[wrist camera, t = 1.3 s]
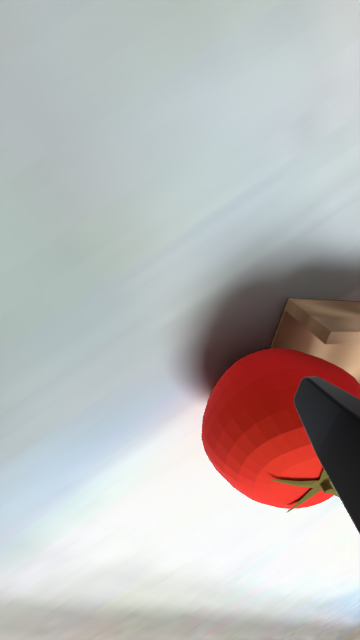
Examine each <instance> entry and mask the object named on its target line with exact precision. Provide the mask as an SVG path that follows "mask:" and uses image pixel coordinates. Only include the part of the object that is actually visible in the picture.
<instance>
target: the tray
mask: <svg viewBox="0 0 360 640" xmlns="http://www.w3.org/2000/svg"><path fill="white" fill-rule="evenodd" d="M272 348H283V349H292V350H297V351H301V352H304V353H307V354H310V355H313V356H316V357H319V358H322V359H324V360H326V361H328V362H330V363H332V364H335V365H336V366H338V367H340V368H342V369H344V370H345V371H346V372H348V373H349V374H350V375H352V376H353V377H354V378H355V379H356V380H357V381H358V383H359V384H360V302H353V301H333V300H312V299H292V298H288V301H287V303H286V306H285V309H284V311H283V314H282V317H281V319H280V322H279V324H278V327H277V330H276V332H275V335H274V338H273V340H272V343H271V346H270V348H269V349H272Z"/></svg>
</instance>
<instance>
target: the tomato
mask: <svg viewBox="0 0 360 640" xmlns="http://www.w3.org/2000/svg"><path fill="white" fill-rule="evenodd" d="M309 376H318V377H320V378H322V379H324V380H326V381H327V382H329V383H331V384H333V385H335V386H337V387H338V388H340V389H342V390H344V391H346V392H348V393H349V394H351V395H353V396H355V397H357V398H359V399H360V384H359V383H358V381H357V380H356V379H355V378H354V377H353V376H352V375H350V374H349V373H348V372H346V371H345V370H344V369H342V368H340V367H338V366H336V365H335V364H332V363H330V362H328V361H326V360H324V359H322V358H319V357H316V356H313V355H310V354H307V353H304V352H301V351H297V350H292V349H283V348H272V349H265V350H261V351H257V352H254V353H251V354H249V355H247V356H245V357H243V358H241V359H239V360H238V361H236V362H235V363H234V364H233V365H232V366H231V367H230V368H228V369H227V370H226V372H225V373H224V374H223V375H222V376H221V378H220V379H219V380H218V382H217V384H216V385H215V387H214V388H213V390H212V392H211V395H210V397H209V399H208V403H207V406H206V409H205V412H204V416H203V424H202V441H203V445H204V449H205V452H206V454H207V456H208V458H209V459H210V461H211V462H212V464H213V465H214V467H215V468H216V470H217V471H218V472H219V473H220V474H221V475H222V476H223V477H224V478H225V479H226V480H227V481H228V482H229V483H230V484H231V485H232V486H233V487H234V488H236V489H237V490H238V491H240V492H241V493H243V494H244V495H246V496H247V497H249V498H251V499H252V500H255V501H257V502H260V503H263V504H267V505H271V506H275V507H279V508H288V509H290V510H292V509H294V508H303V507H309V506H312V505H316V504H319V503H321V502H323V501H325V500H327V499H329V498H330V497H332V496H333V495H336V496H338V497H339V495H338V494H337V492H336V490H335V488H334V486H333V484H332V483H331V481H330V479H329V477H328V475H327V474H326V472H325V470H324V468H323V466H322V464H321V463H320V461H319V459H318V457H317V455H316V453H315V451H314V449H313V446H312V444H311V442H310V440H309V437H308V435H307V433H306V430H305V428H304V426H303V424H302V421H301V419H300V417H299V414H298V412H297V410H296V407H295V405H294V396H295V394H296V391H297V389H298V387H299V384H300V382H301V380H302V379H303V378H304V377H309ZM290 510H288V512H289V511H290Z"/></svg>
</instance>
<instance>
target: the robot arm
mask: <svg viewBox="0 0 360 640" xmlns="http://www.w3.org/2000/svg"><path fill="white" fill-rule="evenodd" d="M294 405H295V407H296V410H297V412H298V414H299V417H300V419H301V421H302V424H303V426H304V428H305V430H306V433H307V435H308V437H309V440H310V442H311V444H312V446H313V449H314V451H315V453H316V455H317V457H318V459H319V461H320V463H321V464H322V466H323V468H324V470H325V472H326V474H327V475H328V477H329V479H330V481H331V483H332V484H333V486H334V488H335V490H336V492H337V494H338V495H339V497H340V499H341V501H342V503H343V504H344V506H345V508H346V510H347V512H348V513H349V515H350V517H351V519H352V521H353V523H354V524H355V526H356V528H357V530H358V532H359V533H360V399H359V398H357V397H355V396H353V395H351V394H349V393H348V392H346V391H344V390H342V389H340V388H338V387H337V386H335V385H333V384H331V383H329V382H327V381H326V380H324V379H322V378H320V377H318V376H309V377H304V378H303V379H302V380H301V382H300V384H299V387H298V389H297V391H296V394H295V396H294Z"/></svg>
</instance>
